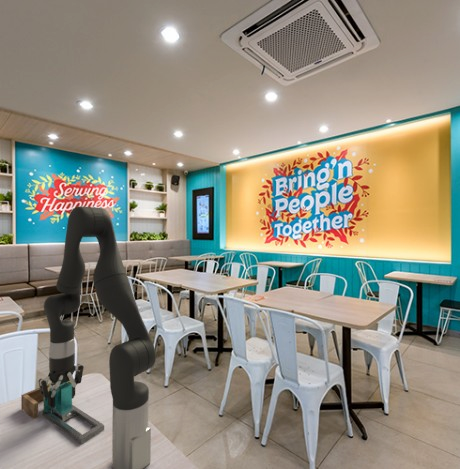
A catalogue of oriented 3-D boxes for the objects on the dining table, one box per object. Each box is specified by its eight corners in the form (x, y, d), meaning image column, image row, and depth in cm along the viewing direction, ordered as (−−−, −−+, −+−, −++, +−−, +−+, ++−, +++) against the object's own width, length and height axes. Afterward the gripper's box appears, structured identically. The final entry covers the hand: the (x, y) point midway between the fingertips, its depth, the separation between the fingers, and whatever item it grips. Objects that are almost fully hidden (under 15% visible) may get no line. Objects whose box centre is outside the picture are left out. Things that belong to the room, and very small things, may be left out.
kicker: (81, 412, 99) (81, 383, 99) (56, 426, 92) (56, 394, 92) (67, 404, 103) (68, 376, 103) (43, 416, 97) (43, 386, 97)
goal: (71, 400, 106) (71, 387, 106) (34, 419, 96) (34, 404, 96) (58, 392, 111) (58, 379, 111) (21, 409, 101) (21, 395, 101)
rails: (104, 429, 91) (104, 425, 91) (81, 444, 85) (81, 439, 85) (64, 404, 104) (64, 399, 104) (42, 415, 98) (42, 410, 98)
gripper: (44, 363, 90) (44, 417, 90) (89, 348, 102) (88, 395, 102) (33, 357, 94) (33, 409, 94) (77, 343, 106) (76, 389, 106)
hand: (62, 401), depth 98 cm, fingers open, 5 cm apart
